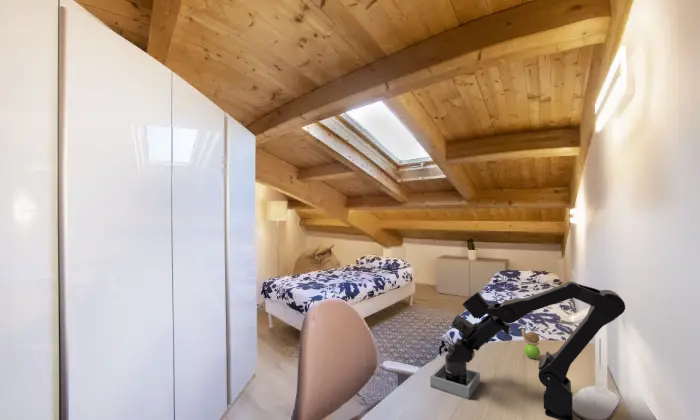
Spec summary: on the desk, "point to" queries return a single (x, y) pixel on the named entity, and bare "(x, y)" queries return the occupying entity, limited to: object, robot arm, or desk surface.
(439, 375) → the box
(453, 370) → the supplement bottle
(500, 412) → the desk surface
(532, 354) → the snail figurine
